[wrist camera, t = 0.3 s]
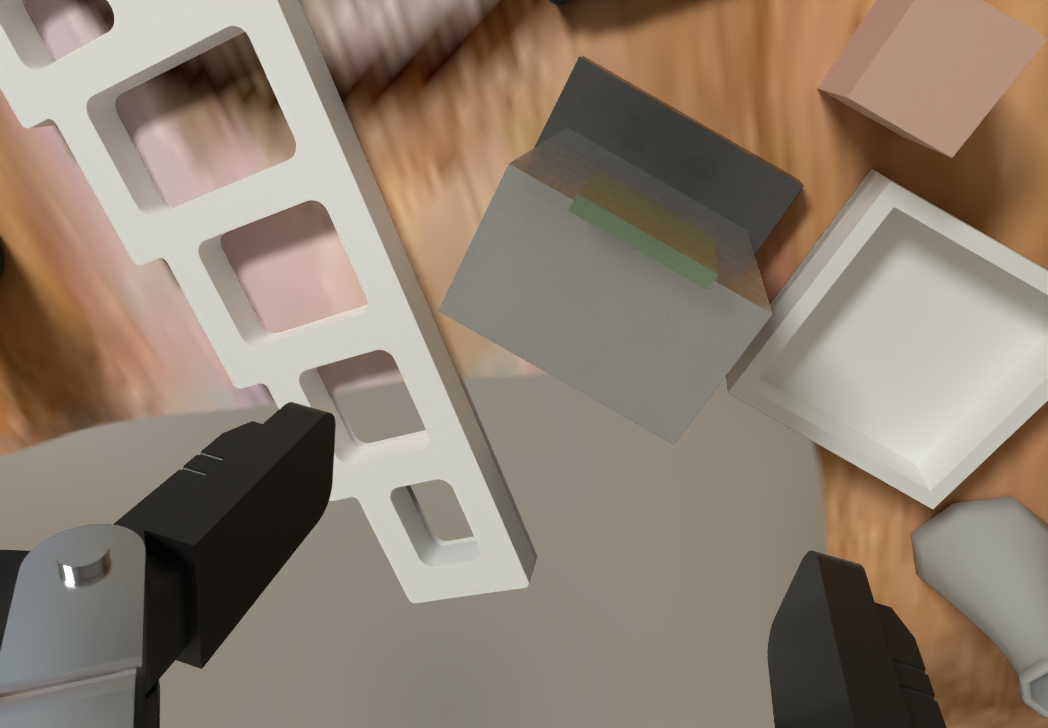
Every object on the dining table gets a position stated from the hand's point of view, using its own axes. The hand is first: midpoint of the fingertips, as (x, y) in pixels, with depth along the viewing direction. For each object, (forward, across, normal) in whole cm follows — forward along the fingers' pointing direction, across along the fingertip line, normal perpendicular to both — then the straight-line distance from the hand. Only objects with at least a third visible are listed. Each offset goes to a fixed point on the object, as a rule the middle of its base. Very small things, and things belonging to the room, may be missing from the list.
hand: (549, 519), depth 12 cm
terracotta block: (+27, -9, -8) cm, 30 cm away
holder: (+27, +20, +11) cm, 36 cm away
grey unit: (+27, 0, +1) cm, 27 cm away
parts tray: (+27, -14, +4) cm, 31 cm away
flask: (+27, -23, +15) cm, 39 cm away
